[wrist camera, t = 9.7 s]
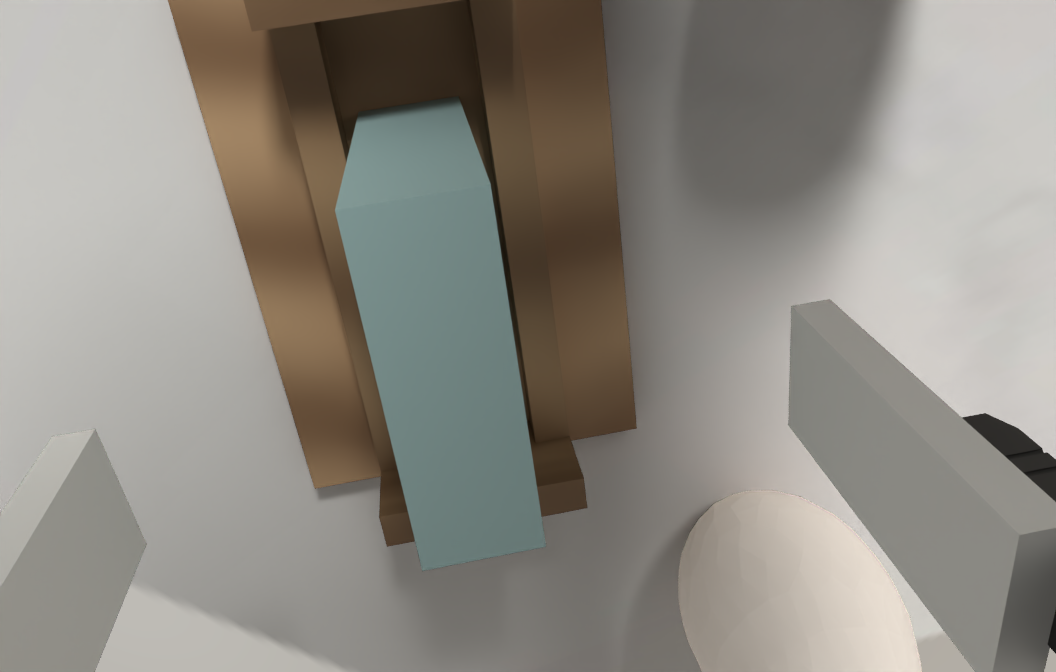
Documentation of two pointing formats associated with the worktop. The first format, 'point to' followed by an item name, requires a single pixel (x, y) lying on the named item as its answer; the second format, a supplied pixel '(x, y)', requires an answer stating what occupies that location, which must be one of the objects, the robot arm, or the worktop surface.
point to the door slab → (440, 330)
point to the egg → (788, 592)
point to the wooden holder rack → (517, 188)
